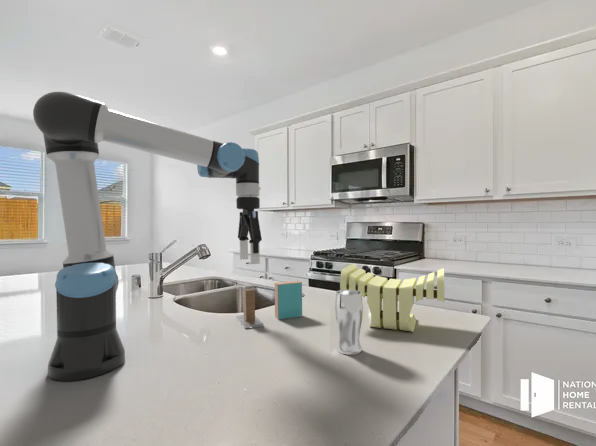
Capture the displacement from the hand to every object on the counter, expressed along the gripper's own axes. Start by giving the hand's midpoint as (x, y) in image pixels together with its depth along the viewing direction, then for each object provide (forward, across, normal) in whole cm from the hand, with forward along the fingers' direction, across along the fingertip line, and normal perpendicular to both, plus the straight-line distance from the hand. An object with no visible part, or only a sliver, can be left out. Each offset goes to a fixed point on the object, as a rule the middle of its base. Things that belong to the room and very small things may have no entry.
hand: (249, 261), depth 109 cm
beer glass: (+20, -34, -17) cm, 43 cm away
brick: (+20, 0, -14) cm, 24 cm away
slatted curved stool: (+21, -22, -41) cm, 51 cm away
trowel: (+20, 0, 0) cm, 20 cm away
